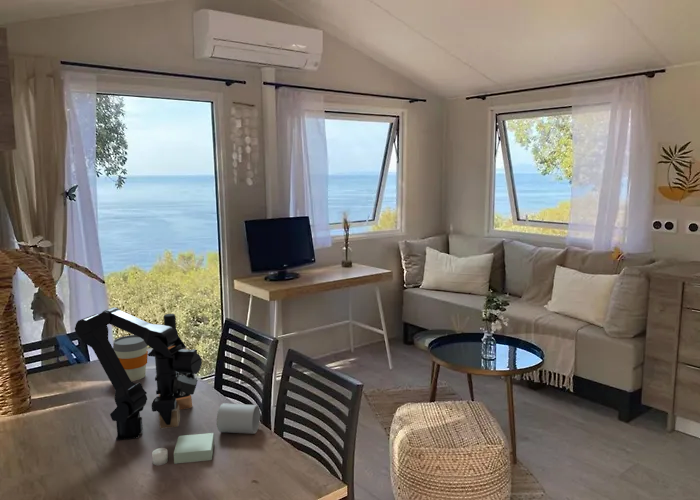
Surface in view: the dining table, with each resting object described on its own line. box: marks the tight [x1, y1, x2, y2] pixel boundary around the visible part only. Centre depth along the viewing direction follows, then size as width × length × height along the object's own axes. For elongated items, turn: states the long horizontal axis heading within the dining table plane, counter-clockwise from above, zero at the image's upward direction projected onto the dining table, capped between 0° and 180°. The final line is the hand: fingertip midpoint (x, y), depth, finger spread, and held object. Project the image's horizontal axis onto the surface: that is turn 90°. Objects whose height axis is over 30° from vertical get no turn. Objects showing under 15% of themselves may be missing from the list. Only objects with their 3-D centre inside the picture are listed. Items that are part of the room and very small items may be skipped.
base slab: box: [173, 432, 215, 465], centre depth 158 cm, size 10×10×3 cm
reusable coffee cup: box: [112, 334, 149, 382], centre depth 214 cm, size 13×12×15 cm
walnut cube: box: [158, 404, 181, 430], centre depth 164 cm, size 5×5×5 cm
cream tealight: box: [151, 447, 169, 466], centre depth 153 cm, size 4×4×3 cm
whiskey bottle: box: [157, 313, 193, 411], centre depth 187 cm, size 10×10×32 cm
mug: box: [216, 402, 261, 435], centre depth 171 cm, size 12×8×11 cm
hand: (169, 420), depth 164 cm, fingers closed on walnut cube, 5 cm apart
